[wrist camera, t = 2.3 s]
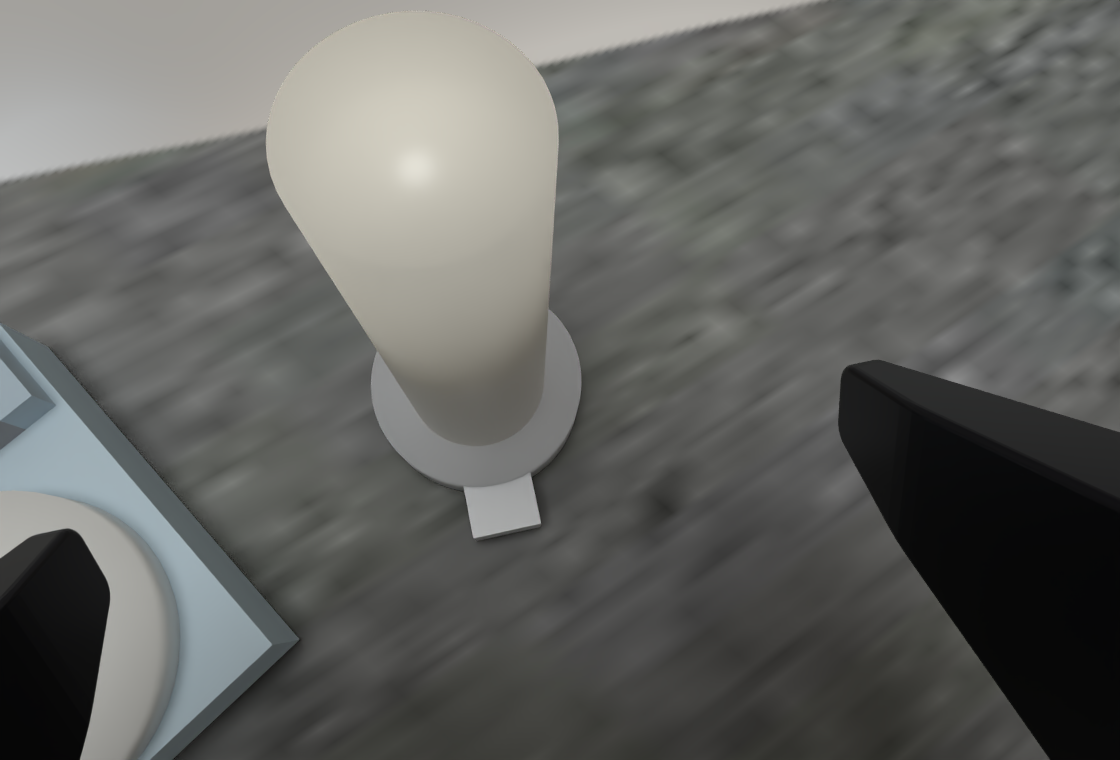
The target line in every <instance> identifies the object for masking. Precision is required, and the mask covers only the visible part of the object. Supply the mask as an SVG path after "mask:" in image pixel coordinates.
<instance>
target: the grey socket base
mask: <svg viewBox="0 0 1120 760" xmlns="http://www.w3.org/2000/svg"><path fill="white" fill-rule="evenodd" d="M65 528H69V529H72V530H75V531H76V532H78V533H79V534H80V535H81V537H82V538H83V540H84V541H85V543H86V545H87V546H88V548H89V550H90V552H91V553H92V555H93V557H94V558H95V560H96V562H97V564H98V565H99V567H100V569H101V571H102V572H103V574H104V576H105V577H106V580H107V582H108V585H109V589H110V606H109V612H108V618H107V624H106V631H105V637H104V643H103V649H102V655H101V661H100V667H99V673H98V679H97V685H96V691H95V697H94V703H93V708H92V713H91V718H90V723H89V728H88V731H87V735H86V739H85V743H84V747H83V751H82V754H81V758H80V760H173V759H174V758H175V757H176V756H177V755H178V754H179V753H180V752H181V751H182V750H183V749H184V748H185V747H186V746H187V745H188V744H189V743H191V742H192V741H193V740H194V739H195V738H196V737H197V736H198V735H199V734H200V733H201V732H202V731H203V730H204V729H205V728H206V727H208V726H209V725H210V724H211V723H212V722H213V721H214V720H215V719H216V718H217V717H218V716H219V715H220V714H221V713H222V712H223V711H225V710H226V709H227V708H228V707H229V706H230V705H231V704H232V703H233V702H234V701H235V700H236V699H237V698H238V697H239V696H240V695H241V694H243V693H244V692H245V691H246V690H247V689H248V688H249V687H250V686H251V685H252V684H253V683H254V682H255V681H256V680H257V679H258V678H260V677H261V676H262V675H263V674H264V673H265V672H266V671H267V670H268V669H269V668H270V667H271V666H272V665H273V664H274V663H275V662H277V661H278V660H279V659H280V658H281V657H282V656H283V655H284V654H285V653H286V652H287V651H288V650H289V649H290V648H291V647H292V646H293V645H295V644H296V643H297V642H298V641H299V640H300V639H299V638H298V637H297V636H296V635H295V634H294V632H293V631H292V630H291V629H290V628H289V627H288V625H287V624H286V623H285V622H284V621H283V620H282V618H281V617H280V616H279V615H278V614H277V613H276V611H275V610H274V609H273V608H272V607H271V606H270V604H269V603H268V602H267V601H266V600H265V599H264V597H263V596H262V595H261V594H260V593H259V592H258V590H257V589H256V588H255V587H254V586H253V585H252V584H251V582H250V581H249V580H248V579H247V578H246V577H245V575H244V574H243V573H242V572H241V571H240V570H239V568H238V567H237V566H236V565H235V564H234V563H233V561H232V560H231V559H230V558H229V557H228V556H227V554H226V553H225V552H224V551H223V550H222V549H221V547H220V546H219V545H218V544H217V543H216V542H215V540H214V539H213V538H212V537H211V536H210V535H209V533H208V532H207V531H206V530H205V529H204V528H203V527H202V525H201V524H200V523H199V522H198V521H197V520H196V518H195V517H194V516H193V515H192V514H191V513H190V511H189V510H188V509H187V508H186V507H185V506H184V504H183V503H182V502H181V501H180V500H179V499H178V497H177V496H176V495H175V494H174V493H173V492H172V490H171V489H170V488H169V487H168V486H167V485H166V483H165V482H164V481H163V480H162V479H161V478H160V476H159V475H158V474H157V473H156V472H155V471H154V470H153V468H152V467H151V466H150V465H149V464H148V463H147V461H146V460H145V459H144V458H143V457H142V456H141V454H140V453H139V452H138V451H137V450H136V449H135V447H134V446H133V445H132V444H131V443H130V442H129V440H128V439H127V438H126V437H125V436H124V435H123V433H122V432H121V431H120V430H119V429H118V428H117V426H116V425H115V424H114V423H113V422H112V421H111V419H110V418H109V417H108V416H107V415H106V414H105V413H104V411H103V410H102V409H101V408H100V407H99V406H98V404H97V403H96V402H95V401H94V400H93V399H92V397H91V396H90V395H89V394H88V393H87V392H86V390H85V389H84V388H83V387H82V386H81V385H80V383H79V382H78V381H77V380H76V379H75V378H74V376H73V375H72V374H71V373H70V372H69V371H68V369H67V368H66V367H65V366H64V365H63V364H62V362H61V361H60V360H59V359H58V358H57V357H56V356H55V354H54V353H53V352H52V351H51V350H50V349H49V347H47V346H45V345H43V344H42V343H40V342H38V341H36V340H34V339H32V338H30V337H28V336H26V335H24V334H22V333H20V332H18V331H16V330H14V329H12V328H10V327H8V326H6V325H4V324H2V323H0V558H1V557H3V556H4V555H5V554H7V553H8V552H10V551H11V550H12V549H14V548H15V547H16V546H18V545H19V544H20V543H22V542H23V541H25V540H26V539H27V538H29V537H31V536H33V535H36V534H41V533H45V532H50V531H55V530H60V529H65Z"/></svg>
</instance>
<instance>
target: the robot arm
mask: <svg viewBox="0 0 1120 760" xmlns="http://www.w3.org/2000/svg"><path fill="white" fill-rule="evenodd" d="M838 426H839V432H840V436H841V439H842V442H843V444H844V446H845V447H846V449H847V451H848V453H849V455H850V457H851V459H852V460H853V462H854V464H855V466H856V468H857V470H858V471H859V473H860V475H861V477H862V479H863V481H864V482H865V484H866V486H867V488H868V490H869V492H870V494H871V495H872V497H873V499H874V501H875V503H876V505H877V506H878V508H879V510H880V512H881V514H882V516H883V517H884V519H885V521H886V523H887V525H888V527H889V528H890V530H891V532H892V533H893V535H894V537H895V539H896V540H897V542H898V543H899V545H900V546H901V548H902V549H903V551H904V552H905V554H906V555H907V557H908V558H909V560H910V561H911V562H912V564H913V565H914V567H915V568H916V570H917V571H918V572H919V574H920V575H921V577H922V578H923V580H924V581H925V582H926V584H927V585H928V587H929V588H930V590H931V591H932V592H933V594H934V595H935V597H936V598H937V599H938V601H939V602H940V604H941V605H942V607H943V608H944V609H945V611H946V612H947V614H948V615H949V617H950V618H951V619H952V621H953V622H954V624H955V625H956V627H957V628H958V629H959V631H960V632H961V634H962V635H963V636H964V638H965V639H966V641H967V642H968V644H969V645H970V646H971V648H972V649H973V651H974V652H975V654H976V655H977V656H978V658H979V659H980V661H981V662H982V663H983V665H984V666H985V668H986V669H987V671H988V672H989V673H990V675H991V676H992V678H993V679H994V681H995V682H996V683H997V685H998V686H999V688H1000V689H1001V691H1002V692H1003V693H1004V695H1005V696H1006V698H1007V699H1008V700H1009V702H1010V703H1011V705H1012V706H1013V708H1014V709H1015V710H1016V712H1017V713H1018V715H1019V716H1020V718H1021V719H1022V720H1023V722H1024V723H1025V725H1026V726H1027V728H1028V729H1029V730H1030V732H1031V733H1032V735H1033V736H1034V737H1035V739H1036V740H1037V742H1038V743H1039V745H1040V746H1041V747H1042V749H1043V750H1044V752H1045V753H1046V755H1047V756H1048V757H1049V759H1050V760H1120V432H1117V431H1113V430H1110V429H1107V428H1103V427H1100V426H1097V425H1093V424H1090V423H1087V422H1084V421H1080V420H1077V419H1074V418H1070V417H1067V416H1064V415H1060V414H1057V413H1054V412H1050V411H1047V410H1044V409H1041V408H1037V407H1034V406H1031V405H1027V404H1024V403H1021V402H1017V401H1014V400H1011V399H1007V398H1004V397H1001V396H998V395H994V394H991V393H988V392H984V391H981V390H978V389H974V388H971V387H968V386H964V385H961V384H958V383H954V382H951V381H948V380H945V379H941V378H938V377H935V376H931V375H928V374H925V373H921V372H918V371H915V370H911V369H908V368H905V367H902V366H898V365H895V364H892V363H888V362H885V361H882V360H872V361H867V362H862V363H857V364H853V365H849V366H847V367H846V368H845V369H844V370H843V373H842V376H841V385H840V401H839V418H838ZM109 606H110V589H109V585H108V582H107V580H106V577H105V576H104V574H103V572H102V571H101V569H100V567H99V565H98V564H97V562H96V560H95V558H94V557H93V555H92V553H91V552H90V550H89V548H88V546H87V545H86V543H85V541H84V540H83V538H82V537H81V535H80V534H79V533H78V532H76V531H75V530H72V529H69V528H65V529H60V530H55V531H50V532H45V533H41V534H36V535H33V536H31V537H29V538H27V539H26V540H25V541H23V542H22V543H20V544H19V545H18V546H16V547H15V548H14V549H12V550H11V551H10V552H8V553H7V554H5V555H4V556H3V557H1V558H0V760H80V758H81V754H82V751H83V747H84V743H85V739H86V735H87V731H88V728H89V723H90V718H91V713H92V708H93V703H94V697H95V691H96V685H97V679H98V673H99V667H100V661H101V655H102V649H103V643H104V637H105V631H106V624H107V618H108V612H109Z"/></svg>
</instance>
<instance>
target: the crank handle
mask: <svg viewBox="0 0 1120 760" xmlns="http://www.w3.org/2000/svg"><path fill="white" fill-rule="evenodd" d="M558 144H559V137H558V121H557V115H556V110H555V106H554V103H553V100H552V97H551V94H550V92H549V90H548V88H547V86H546V84H545V82H544V80H543V78H542V76H541V75H540V73H539V72H538V70H537V69H536V68H535V66H534V65H533V63H532V62H531V61H530V60H529V59H528V58H527V57H526V56H525V55H524V54H523V52H522V51H520V50H519V49H518V48H517V47H516V46H515V45H513V44H512V43H511V42H510V41H508V40H507V39H506V38H504V37H503V36H501V35H500V34H498V33H496V32H495V31H493V30H491V29H489V28H487V27H485V26H483V25H481V24H479V23H477V22H474V21H471V20H468V19H465V18H463V17H458V16H454V15H450V14H446V13H439V12H430V11H404V12H394V13H387V14H382V15H377V16H373V17H370V18H367V19H364V20H361V21H358V22H355V23H353V24H350V25H348V26H346V27H344V28H342V29H340V30H338V31H336V32H335V33H333V34H331V35H330V36H328V37H326V38H325V39H323V40H322V41H321V42H319V43H318V44H317V45H316V46H314V47H313V48H312V49H311V50H309V51H308V52H307V53H306V54H305V55H304V56H303V57H302V58H301V60H299V61H298V62H297V63H296V65H295V66H294V67H293V69H292V70H291V71H290V73H289V74H288V75H287V77H286V78H285V80H284V82H283V84H282V86H281V87H280V89H279V91H278V92H277V95H276V98H275V100H274V103H273V105H272V108H271V111H270V116H269V120H268V124H267V135H266V151H267V161H268V166H269V170H270V175H271V178H272V180H273V183H274V186H275V188H276V191H277V193H278V195H279V196H280V198H281V200H282V202H283V204H284V205H285V207H286V209H287V210H288V212H289V213H290V215H291V216H292V218H293V220H294V221H295V223H296V224H297V226H298V227H299V229H300V231H301V232H302V234H303V235H304V237H305V238H306V240H307V241H308V243H309V245H310V246H311V248H312V249H313V251H314V252H315V254H316V256H317V257H318V259H319V260H320V262H321V263H322V265H323V267H324V268H325V270H326V271H327V273H328V274H329V276H330V277H331V279H332V281H333V282H334V284H335V285H336V287H337V288H338V290H339V292H340V293H341V295H342V296H343V298H344V299H345V301H346V303H347V304H348V306H349V307H350V309H351V310H352V312H353V313H354V315H355V317H356V318H357V320H358V321H359V323H360V324H361V326H362V328H363V329H364V331H365V332H366V334H367V335H368V337H369V338H370V340H371V342H372V343H373V345H374V346H375V348H376V349H377V353H376V356H375V359H374V363H373V368H372V374H371V394H372V402H373V407H374V411H375V415H376V417H377V420H378V422H379V425H380V427H381V429H382V431H383V433H384V434H385V436H386V438H387V439H388V441H389V442H390V443H391V445H392V446H393V447H394V449H395V450H396V451H397V452H398V453H399V454H400V455H401V456H402V457H403V458H404V459H405V460H406V461H407V462H408V463H409V464H410V465H411V466H412V467H413V468H414V469H415V470H416V471H418V472H419V473H420V474H422V475H423V476H424V477H426V478H428V479H429V480H431V481H433V482H435V483H437V484H439V485H442V486H444V487H447V488H450V489H454V490H458V491H465V497H466V502H467V507H468V512H469V518H470V523H471V528H472V534H473V539H475V540H476V541H479V540H484V539H488V538H493V537H497V536H502V535H506V534H511V533H515V532H520V531H524V530H529V529H533V528H538V527H541V520H540V516H539V511H538V506H537V501H536V497H535V492H534V487H533V483H532V478H531V477H533V476H535V475H536V474H538V473H539V472H540V471H541V470H543V469H544V468H545V467H546V466H547V465H548V464H549V463H550V462H551V461H552V460H553V459H554V458H555V457H556V456H557V454H558V453H559V452H560V450H561V449H562V448H563V446H564V444H565V442H566V441H567V439H568V437H569V435H570V432H571V430H572V427H573V425H574V421H575V417H576V413H577V409H578V405H579V401H580V395H581V386H582V384H581V368H580V362H579V357H578V354H577V351H576V348H575V345H574V343H573V341H572V339H571V336H570V334H569V333H568V331H567V330H566V328H565V327H564V325H563V324H562V322H561V321H560V320H559V319H558V318H557V316H556V315H555V314H554V313H553V312H552V311H551V310H550V309H549V292H550V275H551V259H552V242H553V226H554V210H555V193H556V177H557V160H558Z"/></svg>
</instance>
